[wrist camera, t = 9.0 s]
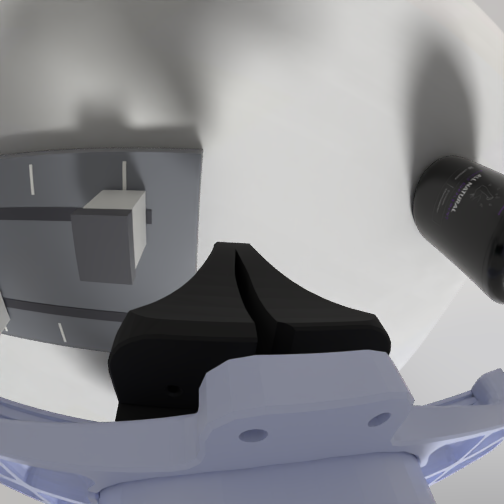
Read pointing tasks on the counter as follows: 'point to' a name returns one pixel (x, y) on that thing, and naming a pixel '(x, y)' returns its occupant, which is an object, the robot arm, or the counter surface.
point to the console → (62, 244)
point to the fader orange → (3, 315)
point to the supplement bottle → (465, 219)
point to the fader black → (110, 236)
